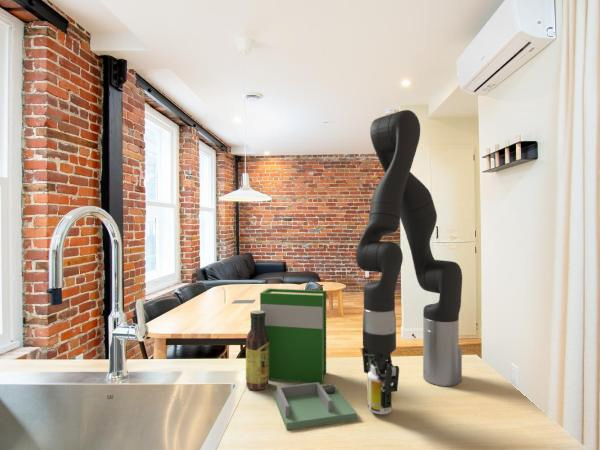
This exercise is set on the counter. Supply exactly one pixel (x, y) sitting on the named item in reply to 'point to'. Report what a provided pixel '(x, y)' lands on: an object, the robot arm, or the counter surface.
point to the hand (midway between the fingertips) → (379, 400)
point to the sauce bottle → (257, 353)
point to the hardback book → (295, 333)
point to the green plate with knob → (312, 405)
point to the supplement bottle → (375, 393)
